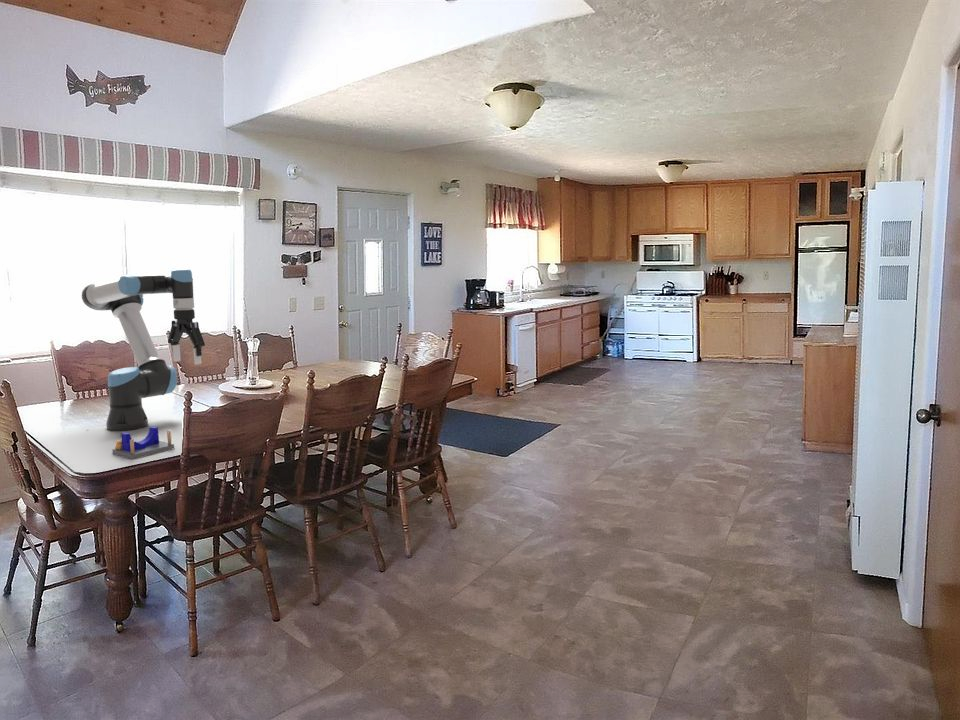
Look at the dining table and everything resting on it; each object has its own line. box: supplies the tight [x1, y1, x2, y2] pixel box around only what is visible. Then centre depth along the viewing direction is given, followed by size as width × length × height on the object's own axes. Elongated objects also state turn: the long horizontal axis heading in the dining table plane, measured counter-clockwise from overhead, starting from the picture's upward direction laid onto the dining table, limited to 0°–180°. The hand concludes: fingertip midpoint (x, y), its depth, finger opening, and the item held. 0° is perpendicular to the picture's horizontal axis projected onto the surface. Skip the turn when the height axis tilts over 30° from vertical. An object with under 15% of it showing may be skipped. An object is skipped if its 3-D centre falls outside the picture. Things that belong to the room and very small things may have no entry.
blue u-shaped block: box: [120, 425, 160, 452], centre depth 254 cm, size 12×4×6 cm, turn 145°
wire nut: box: [114, 439, 122, 450], centre depth 251 cm, size 2×2×3 cm
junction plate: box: [111, 430, 175, 460], centre depth 254 cm, size 12×16×6 cm
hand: (187, 362), depth 282 cm, fingers open, 13 cm apart
